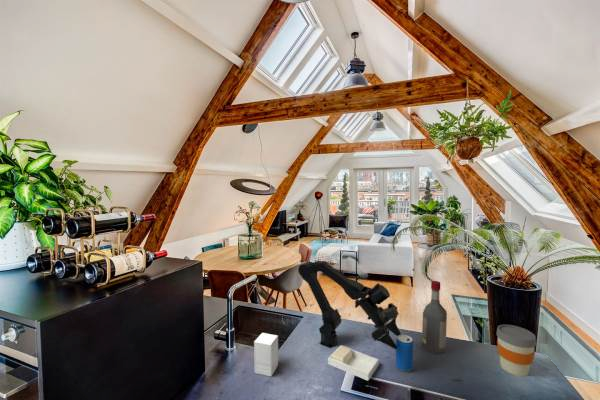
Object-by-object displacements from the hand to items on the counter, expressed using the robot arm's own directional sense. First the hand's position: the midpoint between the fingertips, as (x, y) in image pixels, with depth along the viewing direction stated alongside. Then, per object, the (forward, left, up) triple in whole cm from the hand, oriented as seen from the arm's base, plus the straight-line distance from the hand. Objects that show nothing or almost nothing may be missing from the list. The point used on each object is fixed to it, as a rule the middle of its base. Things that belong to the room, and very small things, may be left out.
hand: (398, 342), depth 114 cm
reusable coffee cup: (+38, +25, -10) cm, 47 cm away
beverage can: (+2, 0, -10) cm, 10 cm away
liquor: (+9, +22, -10) cm, 26 cm away
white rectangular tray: (-15, -11, -9) cm, 21 cm away
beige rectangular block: (-20, -11, -9) cm, 24 cm away
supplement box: (-42, -33, -10) cm, 54 cm away
